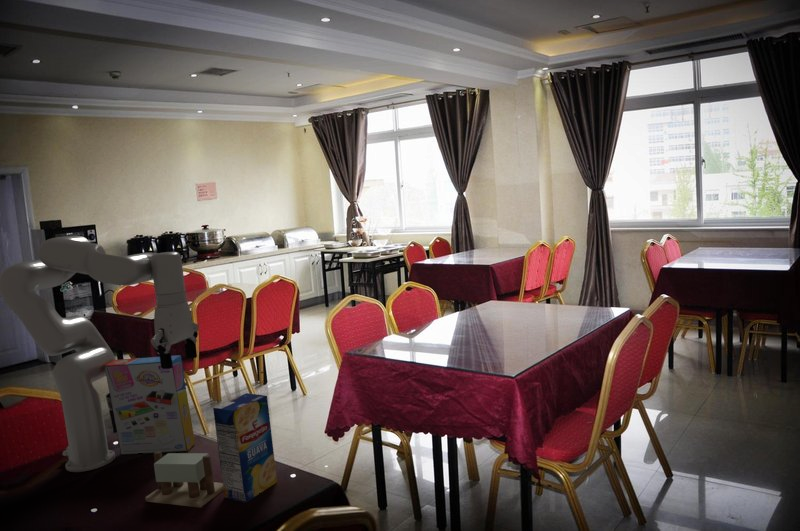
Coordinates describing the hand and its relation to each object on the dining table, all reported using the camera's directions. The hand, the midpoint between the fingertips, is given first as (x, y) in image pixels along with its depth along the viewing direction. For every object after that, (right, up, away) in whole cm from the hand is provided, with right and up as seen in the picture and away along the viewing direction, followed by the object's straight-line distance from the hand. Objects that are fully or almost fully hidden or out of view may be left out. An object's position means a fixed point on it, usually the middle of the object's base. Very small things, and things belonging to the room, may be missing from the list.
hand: (179, 362), depth 165 cm
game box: (-12, -28, +16) cm, 34 cm away
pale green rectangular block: (+6, -25, -15) cm, 30 cm away
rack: (+7, -30, -14) cm, 34 cm away
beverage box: (+23, -29, -15) cm, 39 cm away
